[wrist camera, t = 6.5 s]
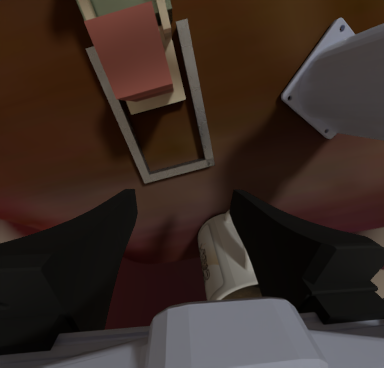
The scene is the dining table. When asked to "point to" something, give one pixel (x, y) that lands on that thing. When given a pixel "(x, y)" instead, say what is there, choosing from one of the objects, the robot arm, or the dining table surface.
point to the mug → (225, 261)
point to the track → (104, 4)
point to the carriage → (137, 55)
